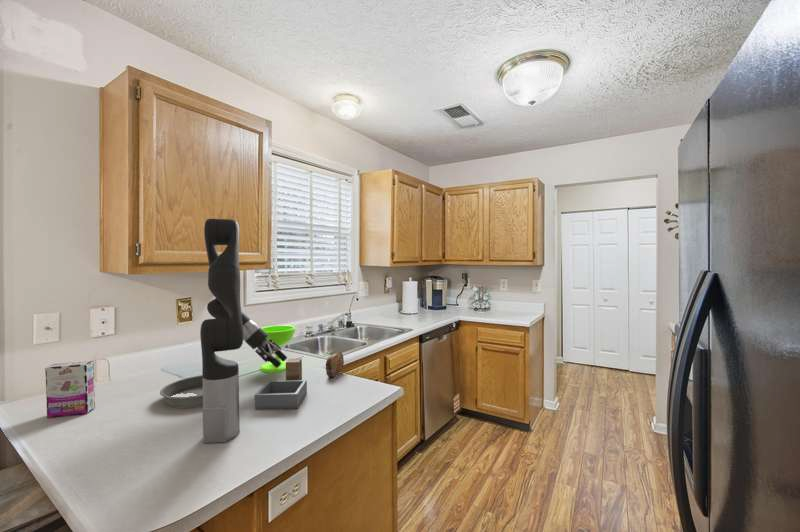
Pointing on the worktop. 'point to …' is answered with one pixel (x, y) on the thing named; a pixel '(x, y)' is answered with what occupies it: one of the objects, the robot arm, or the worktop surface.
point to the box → (281, 395)
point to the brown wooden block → (294, 369)
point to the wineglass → (279, 337)
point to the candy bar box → (70, 389)
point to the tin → (334, 364)
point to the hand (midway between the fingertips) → (282, 362)
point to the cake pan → (184, 392)
